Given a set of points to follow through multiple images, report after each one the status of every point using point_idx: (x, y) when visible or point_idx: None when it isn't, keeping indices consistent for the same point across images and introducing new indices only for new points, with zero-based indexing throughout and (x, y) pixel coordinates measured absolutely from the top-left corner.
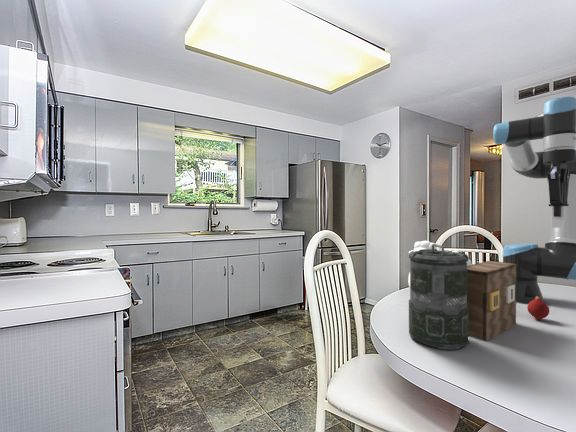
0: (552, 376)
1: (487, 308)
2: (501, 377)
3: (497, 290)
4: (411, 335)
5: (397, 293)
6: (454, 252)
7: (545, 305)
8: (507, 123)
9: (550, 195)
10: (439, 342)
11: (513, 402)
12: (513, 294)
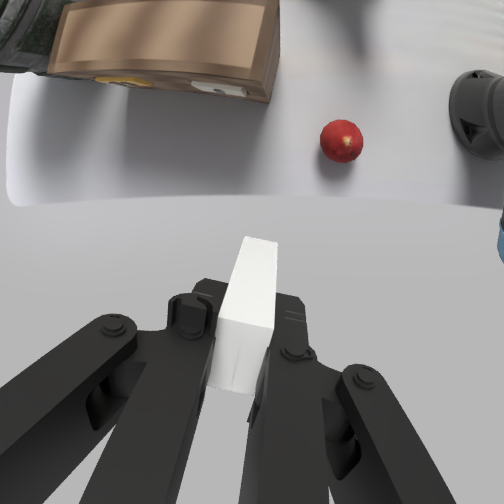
0: (77, 183)
1: None
2: (41, 143)
3: (131, 77)
4: None
5: None
6: (6, 9)
7: (335, 156)
8: None
9: (37, 370)
10: None
11: (13, 166)
12: (234, 93)
